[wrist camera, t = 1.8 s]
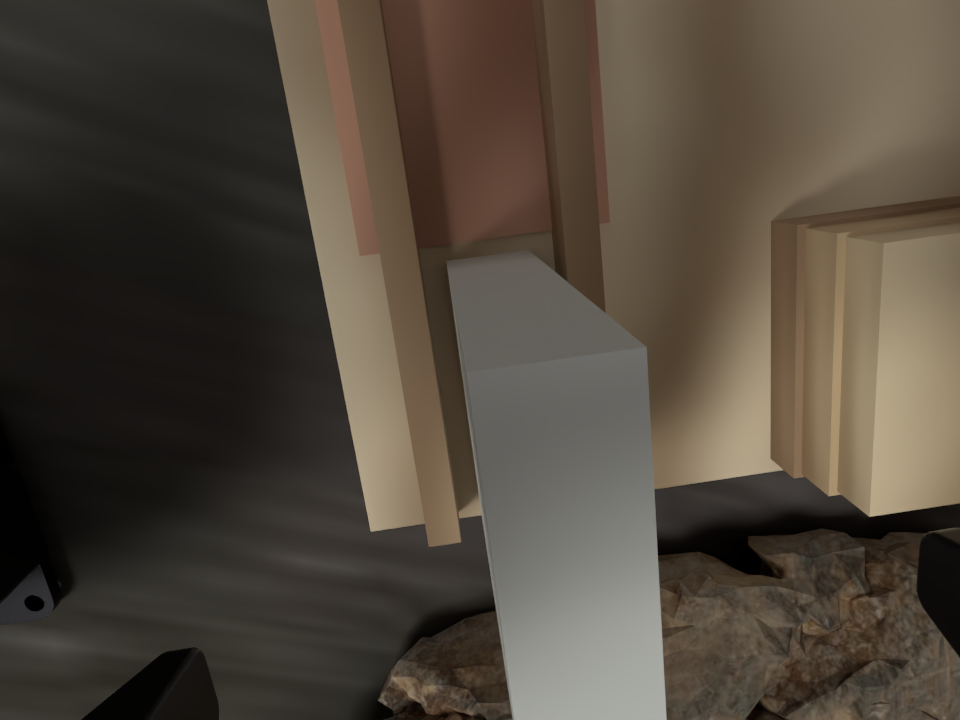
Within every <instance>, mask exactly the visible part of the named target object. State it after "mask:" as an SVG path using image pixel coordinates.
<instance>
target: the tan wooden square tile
mask: <svg viewBox="0 0 960 720" xmlns="http://www.w3.org/2000/svg"><path fill="white" fill-rule="evenodd" d="M952 208H960V196H953V197H945V198H938V199H931V200H923V201H916V202H909V203H901V204H894V205H887V206H879V207H872V208H864V209H857V210H850V211H842V212H835V213H828V214H820V215H813V216H806V217H798V218H791V219H783V220H776V221H771V443H770V459H771V460H773V461H774V462H775V463H776V464H777V465H779V466H780V467H781V468H782V469H783V470H784V471H786V472H787V473H788V474H789V475H790V476H791V477H793V478H801V477H805V476H804V475H802V417H803V360H804V303H805V246H806V228H813V227H820V226H828V225H835V224H842V223H850V222H857V221H864V220H872V219H879V218H886V217H894V216H901V215H908V214H916V213H923V212H930V211H938V210H945V209H952Z"/></svg>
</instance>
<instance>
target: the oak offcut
mask: <svg viewBox="0 0 960 720" xmlns="http://www.w3.org/2000/svg"><path fill="white" fill-rule="evenodd" d="M959 221H960V208H952V209H945V210H938V211H930V212H923V213H916V214H908V215H901V216H894V217H886V218H879V219H872V220H864V221H857V222H850V223H842V224H835V225H828V226H820V227H813V228H806V246H805V303H804V360H803V417H802V475H804V476H805V477H806V478H807V479H808V480H810V481H811V482H812V483H813V484H814V485H816V486H817V487H818V488H819V489H821V490H822V491H823V492H824V493H825V494H827V495H828V496H834V495H841V494H840V493H839V492H837V482H838V454H839V425H840V397H841V368H842V340H843V311H844V283H845V254H846V237H850V236H857V235H864V234H872V233H879V232H886V231H893V230H901V229H908V228H915V227H923V226H930V225H937V224H945V223H952V222H959Z"/></svg>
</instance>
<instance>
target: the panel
mask: <svg viewBox="0 0 960 720" xmlns="http://www.w3.org/2000/svg"><path fill="white" fill-rule="evenodd" d="M446 263H447V271H448V278H449V285H450V292H451V299H452V306H453V314H454V321H455V328H456V335H457V342H458V350H459V357H460V364H461V371H462V378H463V385H464V393H465V400H466V407H467V414H468V421H469V428H470V436H471V443H472V450H473V457H474V464H475V471H476V479H477V486H478V493H479V500H480V507H481V514H482V520H483V527H484V534H485V540H486V547H487V553H488V560H489V567H490V573H491V580H492V586H493V593H494V600H495V606H496V613H497V619H498V626H499V633H500V639H501V646H502V652H503V659H504V666H505V672H506V679H507V685H508V692H509V699H510V705H511V712H512V718H513V720H667V717H666V698H665V680H664V661H663V643H662V624H661V606H660V587H659V568H658V550H657V531H656V513H655V494H654V476H653V457H652V438H651V420H650V401H649V383H648V364H647V347H646V346H645V345H644V344H642V343H641V342H640V341H639V340H638V339H636V338H635V337H634V336H633V335H631V334H630V333H629V332H628V331H627V330H625V329H624V328H623V327H622V326H620V325H619V324H618V323H617V322H616V321H614V320H613V319H612V318H611V317H610V316H608V315H607V314H606V313H605V312H603V311H602V310H601V309H600V308H599V307H597V306H596V305H595V304H594V303H592V302H591V301H590V300H589V299H588V298H586V297H585V296H584V295H583V294H582V293H580V292H579V291H578V290H577V289H575V288H574V287H573V286H572V285H571V284H569V283H568V282H567V281H566V280H565V279H563V278H562V277H561V276H560V275H558V274H557V273H556V272H555V271H554V270H552V269H551V268H550V267H549V266H547V265H546V264H545V263H544V262H543V261H541V260H540V259H539V258H538V257H537V256H535V255H534V254H533V253H532V252H530V251H529V250H524V251H517V252H509V253H502V254H495V255H487V256H480V257H472V258H465V259H458V260H450V261H446Z"/></svg>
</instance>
